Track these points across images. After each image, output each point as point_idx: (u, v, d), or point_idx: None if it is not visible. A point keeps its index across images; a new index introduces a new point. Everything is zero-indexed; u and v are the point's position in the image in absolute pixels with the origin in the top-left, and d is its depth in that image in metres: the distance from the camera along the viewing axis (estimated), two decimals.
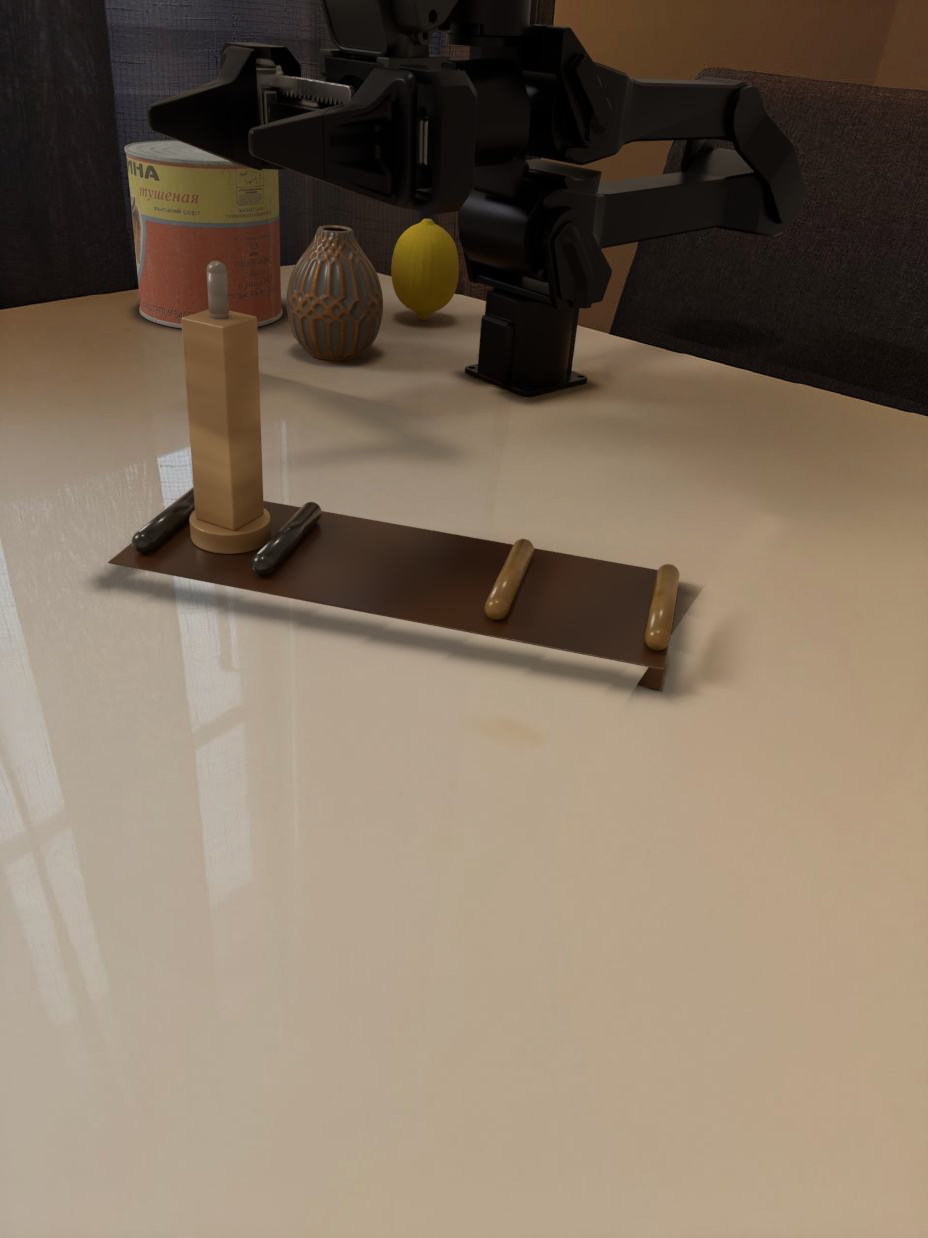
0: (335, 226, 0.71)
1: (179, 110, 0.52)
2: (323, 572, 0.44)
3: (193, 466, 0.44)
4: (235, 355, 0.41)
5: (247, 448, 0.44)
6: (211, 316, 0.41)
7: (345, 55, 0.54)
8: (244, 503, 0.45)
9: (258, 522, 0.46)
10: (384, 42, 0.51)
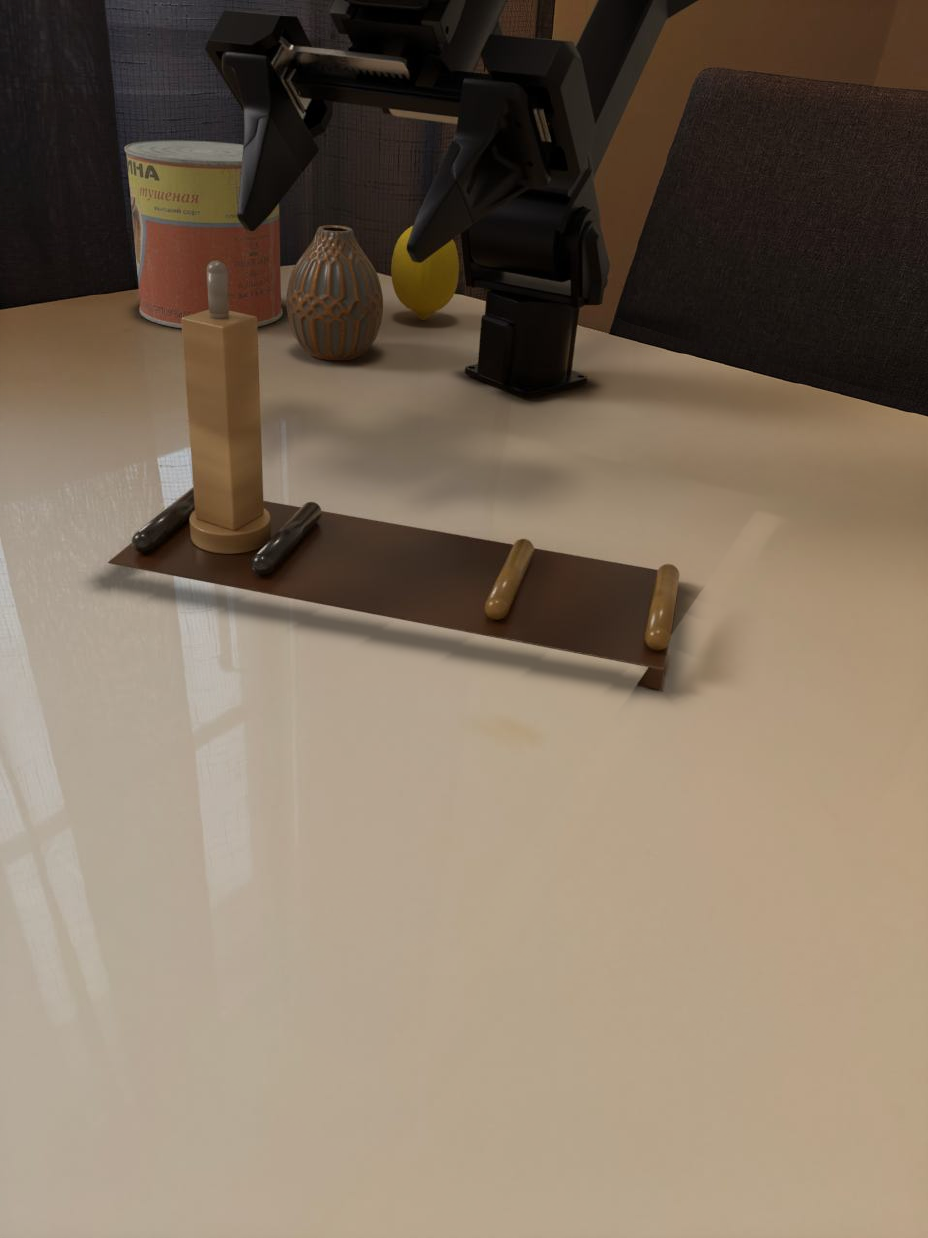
0: (335, 226, 0.71)
1: (259, 191, 0.48)
2: (323, 572, 0.44)
3: (193, 466, 0.44)
4: (235, 355, 0.41)
5: (247, 448, 0.44)
6: (211, 316, 0.41)
7: None
8: (244, 503, 0.45)
9: (258, 522, 0.46)
10: (422, 1, 0.44)
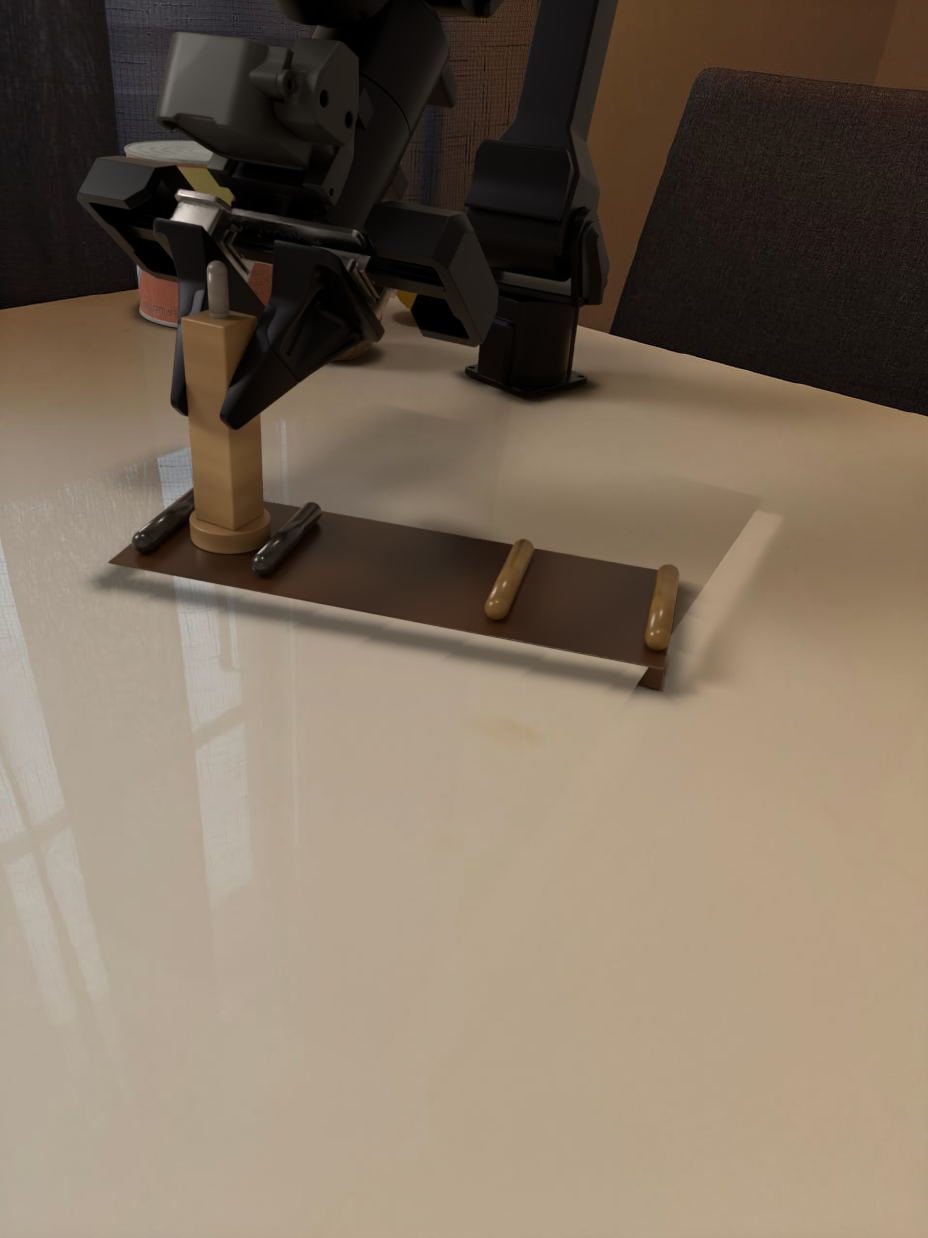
0: None
1: None
2: (323, 572, 0.44)
3: (193, 466, 0.44)
4: (235, 355, 0.41)
5: (247, 448, 0.44)
6: (211, 315, 0.41)
7: None
8: (244, 503, 0.45)
9: (258, 522, 0.46)
10: (301, 164, 0.40)
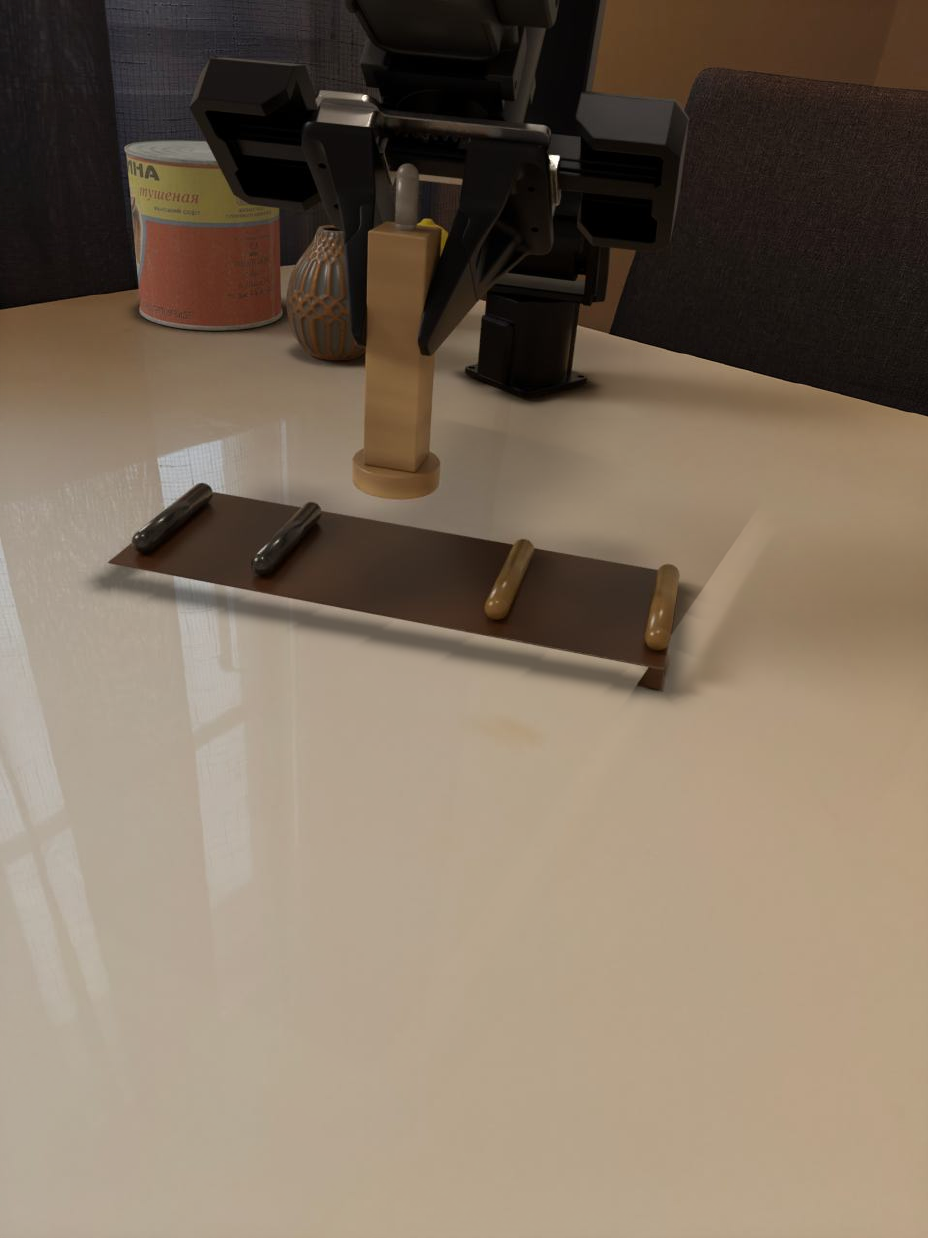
0: None
1: None
2: (323, 572, 0.44)
3: (367, 404, 0.40)
4: (429, 271, 0.37)
5: (427, 378, 0.40)
6: (399, 228, 0.37)
7: None
8: (421, 441, 0.41)
9: (431, 462, 0.42)
10: (491, 52, 0.36)
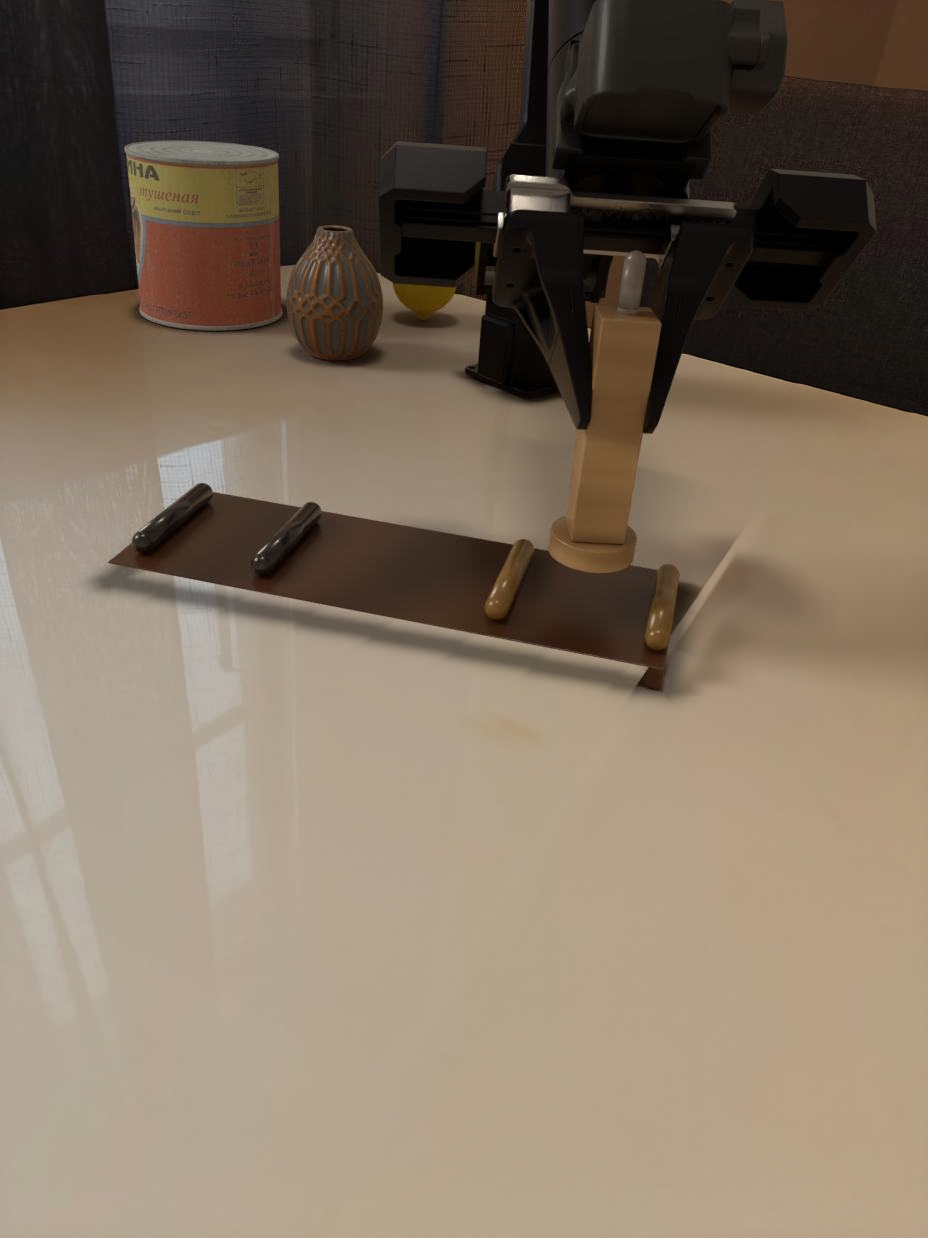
0: (335, 226, 0.71)
1: None
2: (323, 572, 0.44)
3: (581, 484, 0.40)
4: None
5: None
6: (626, 313, 0.37)
7: None
8: None
9: (626, 531, 0.42)
10: (695, 137, 0.37)
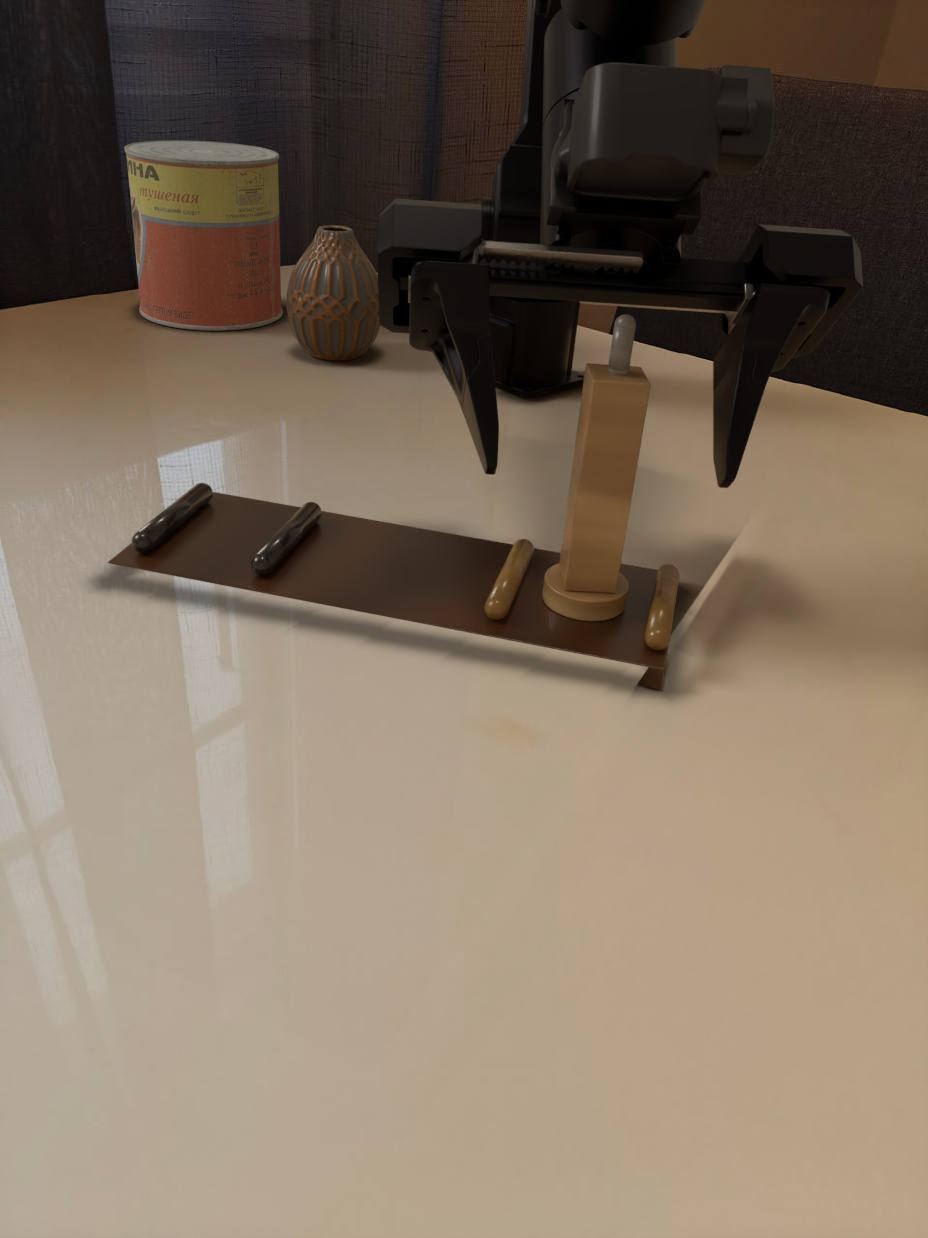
0: (335, 226, 0.71)
1: None
2: (323, 572, 0.44)
3: (574, 536, 0.41)
4: None
5: None
6: (616, 373, 0.38)
7: None
8: None
9: (618, 578, 0.43)
10: (685, 196, 0.38)
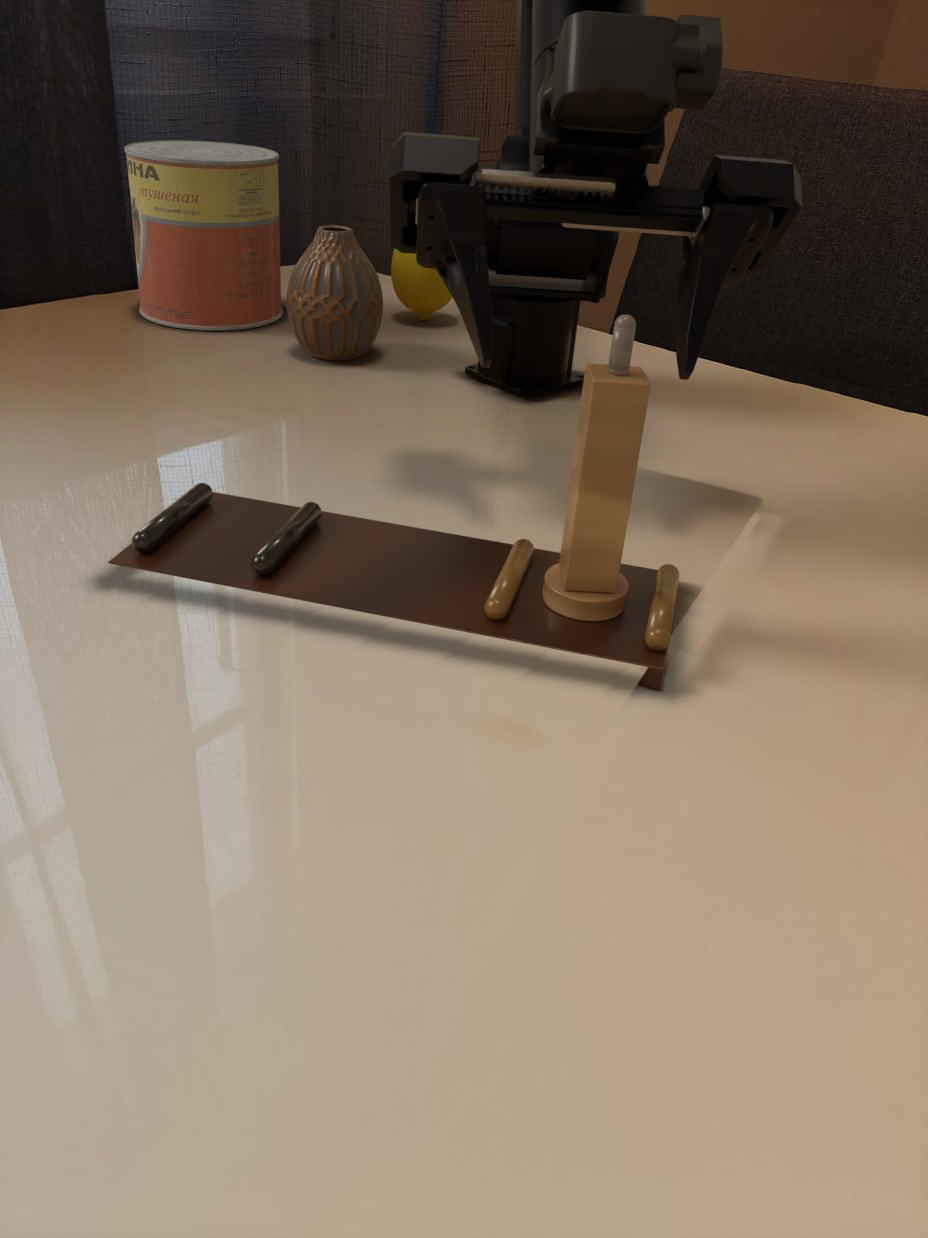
0: (335, 226, 0.71)
1: None
2: (323, 572, 0.44)
3: (574, 536, 0.41)
4: None
5: None
6: (616, 373, 0.38)
7: None
8: None
9: (618, 578, 0.43)
10: (650, 128, 0.45)
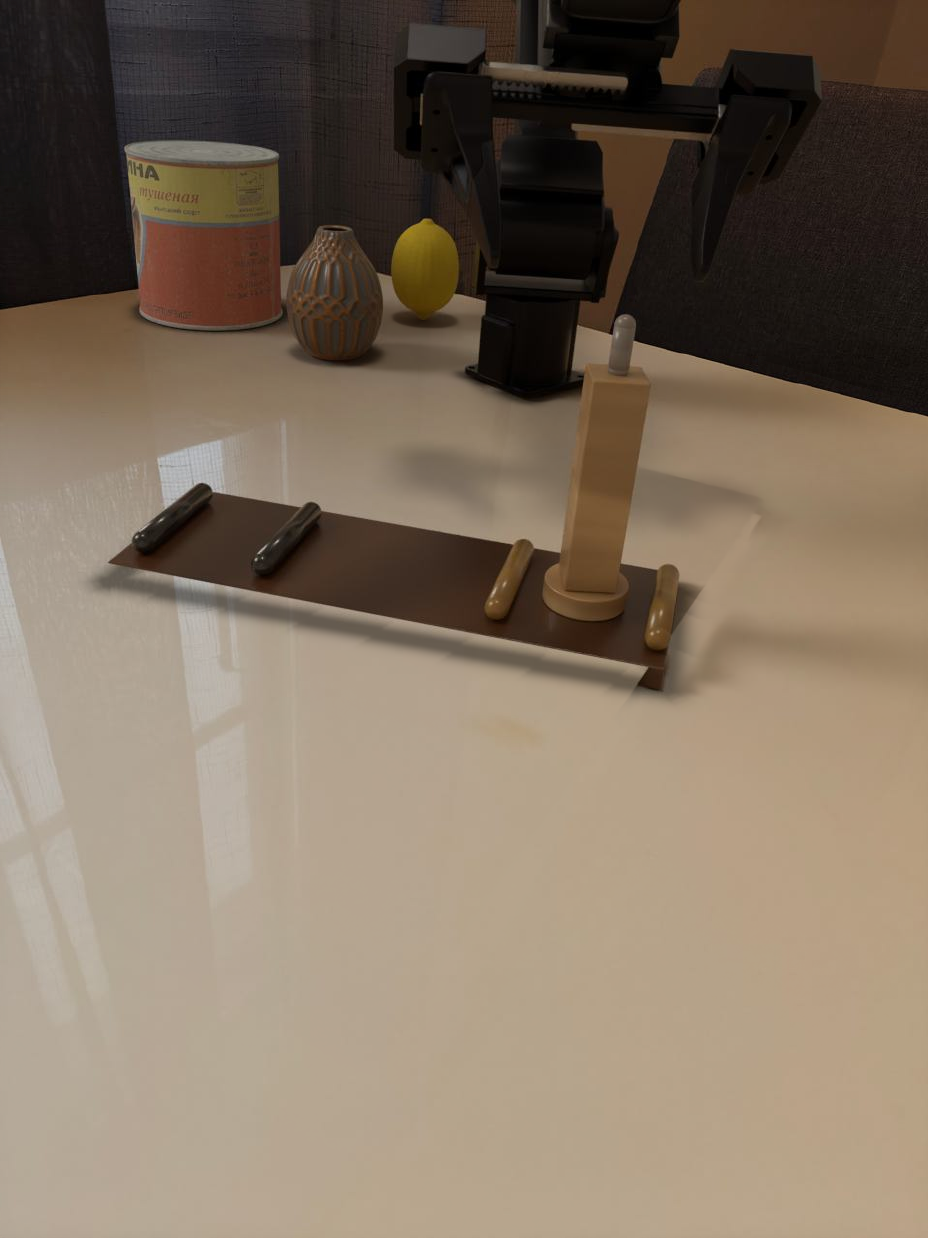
0: (335, 226, 0.71)
1: None
2: (323, 572, 0.44)
3: (574, 536, 0.41)
4: None
5: None
6: (616, 373, 0.38)
7: None
8: None
9: (618, 578, 0.43)
10: (665, 16, 0.43)
